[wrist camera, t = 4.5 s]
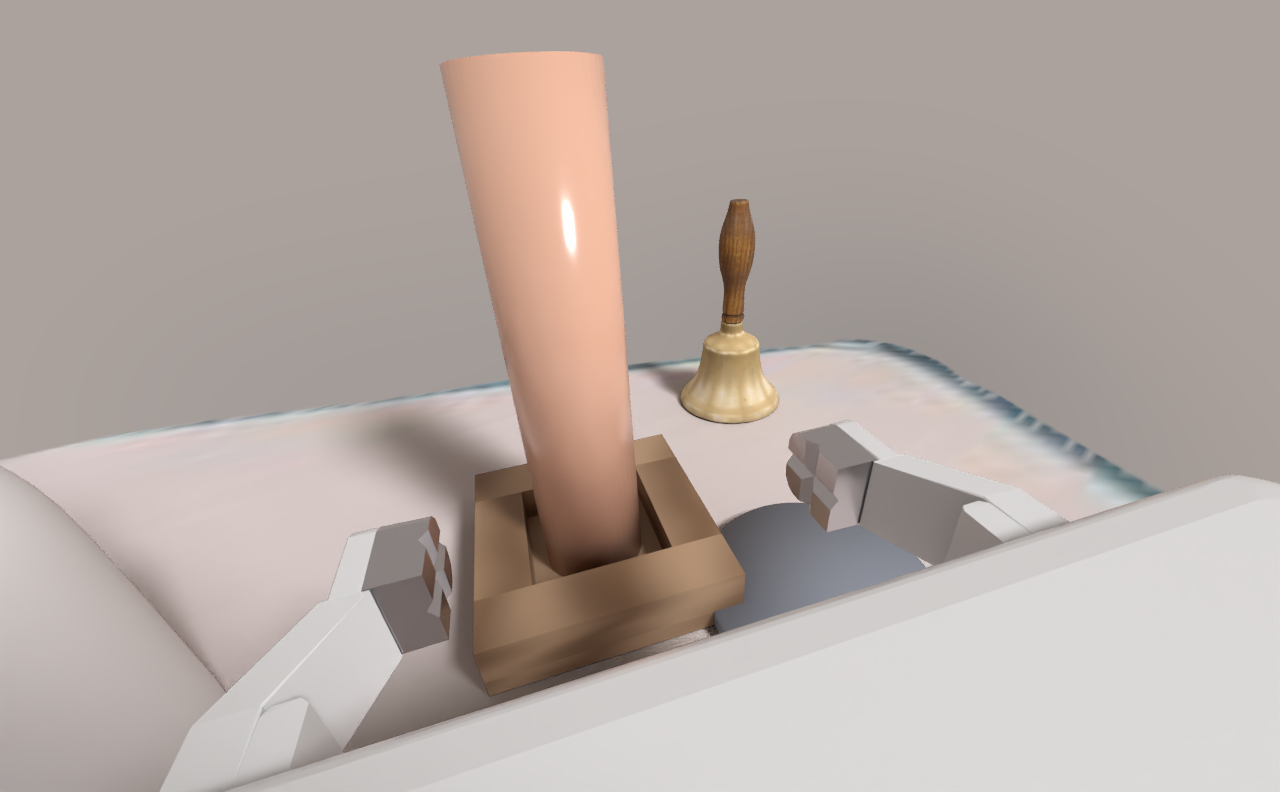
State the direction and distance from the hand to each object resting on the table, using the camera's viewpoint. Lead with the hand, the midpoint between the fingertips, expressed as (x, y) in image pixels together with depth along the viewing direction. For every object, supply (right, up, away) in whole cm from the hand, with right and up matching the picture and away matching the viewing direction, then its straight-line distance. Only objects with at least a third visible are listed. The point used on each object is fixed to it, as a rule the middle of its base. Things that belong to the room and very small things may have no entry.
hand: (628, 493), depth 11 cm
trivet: (+9, -8, +13) cm, 18 cm away
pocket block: (-2, -7, +16) cm, 18 cm away
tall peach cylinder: (-2, -6, +16) cm, 17 cm away
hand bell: (+8, +2, +31) cm, 32 cm away
